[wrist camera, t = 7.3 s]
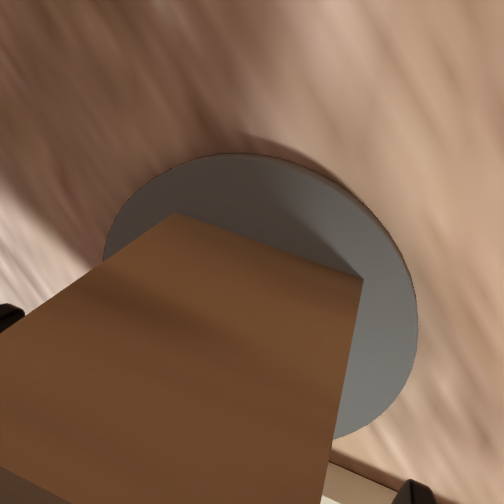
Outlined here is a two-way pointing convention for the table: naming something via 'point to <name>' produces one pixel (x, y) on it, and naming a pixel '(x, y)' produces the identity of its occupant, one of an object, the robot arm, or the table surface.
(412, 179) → the table surface
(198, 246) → the block
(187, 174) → the coaster
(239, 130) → the table surface
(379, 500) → the pocket frame
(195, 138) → the table surface
